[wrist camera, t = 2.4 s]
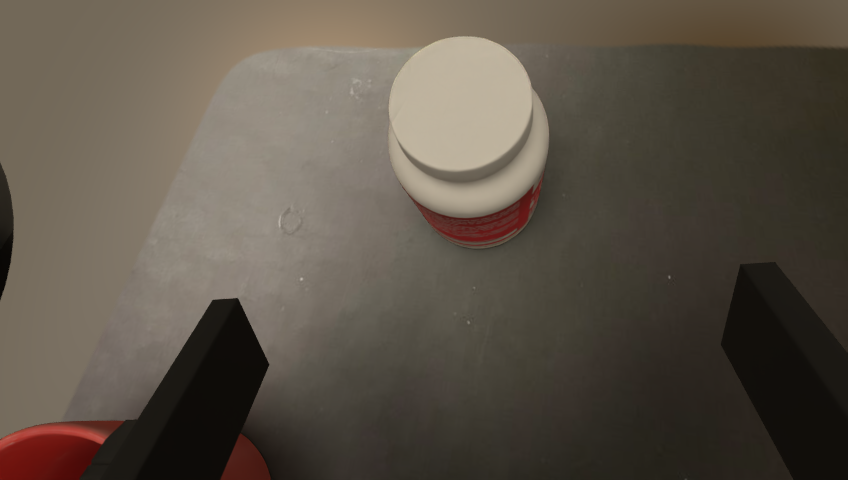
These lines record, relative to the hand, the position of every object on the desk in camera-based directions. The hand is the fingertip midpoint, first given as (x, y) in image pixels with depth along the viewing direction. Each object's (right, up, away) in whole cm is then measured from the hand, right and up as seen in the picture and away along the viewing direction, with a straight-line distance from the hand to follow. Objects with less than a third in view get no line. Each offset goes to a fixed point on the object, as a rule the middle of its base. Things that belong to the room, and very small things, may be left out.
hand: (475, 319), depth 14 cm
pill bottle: (+2, +5, +13) cm, 14 cm away
